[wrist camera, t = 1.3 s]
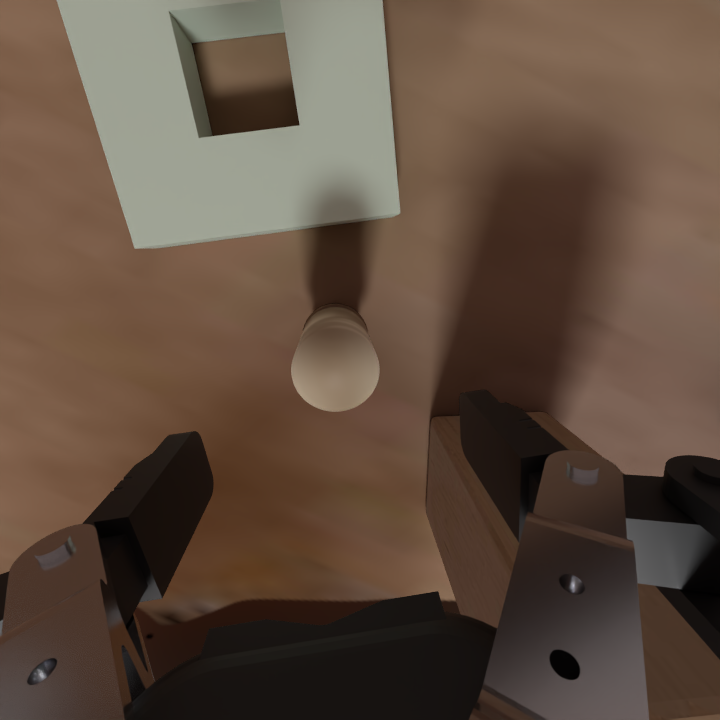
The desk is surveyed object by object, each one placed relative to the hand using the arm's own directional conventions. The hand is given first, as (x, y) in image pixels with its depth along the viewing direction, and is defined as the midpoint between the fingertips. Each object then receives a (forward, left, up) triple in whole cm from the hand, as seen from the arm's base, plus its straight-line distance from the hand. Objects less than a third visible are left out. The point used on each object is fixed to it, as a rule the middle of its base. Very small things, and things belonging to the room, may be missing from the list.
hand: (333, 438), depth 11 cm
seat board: (+3, -15, -16) cm, 22 cm away
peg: (0, 0, -16) cm, 16 cm away
